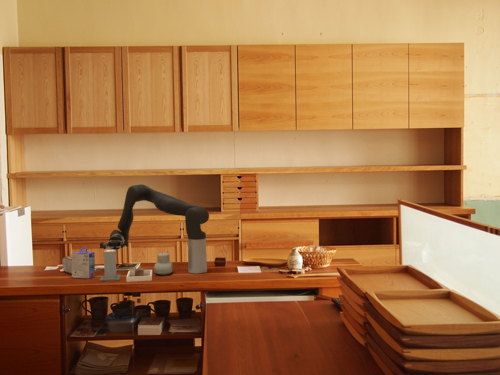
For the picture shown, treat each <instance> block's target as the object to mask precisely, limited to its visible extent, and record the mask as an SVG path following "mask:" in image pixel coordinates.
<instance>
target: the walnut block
mask: <svg viewBox="0 0 500 375" xmlns="http://www.w3.org/2000/svg"><path fill="white" fill-rule="evenodd" d="M134 270H135V275H134V276H145V275H144V270H145V268H143V267H141V268H134Z"/></svg>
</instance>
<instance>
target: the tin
mask: <svg viewBox="0 0 500 375" xmlns="http://www.w3.org/2000/svg"><path fill="white" fill-rule="evenodd" d="M61 262H62V263H61V264H62V268H63V271H64V272H66V273H67V274H70V275H72V255H71V256H70V255H67V256H63V257H62V259H61Z"/></svg>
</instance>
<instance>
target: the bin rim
mask: <svg viewBox="0 0 500 375" xmlns="http://www.w3.org/2000/svg"><path fill="white" fill-rule="evenodd" d="M125 280H126V283H133V282H151V281H152V280H153V269H144V276H135V269H134V270H128V272H127V275H126V278H125Z"/></svg>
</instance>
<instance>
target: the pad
mask: <svg viewBox="0 0 500 375" xmlns="http://www.w3.org/2000/svg"><path fill="white" fill-rule="evenodd" d="M121 276H122V274H116V278H110V279H105V275H102V276H101V277H100V279H99V282H113V281H115V282H117V281H120V279H121V278H122V277H121Z"/></svg>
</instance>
